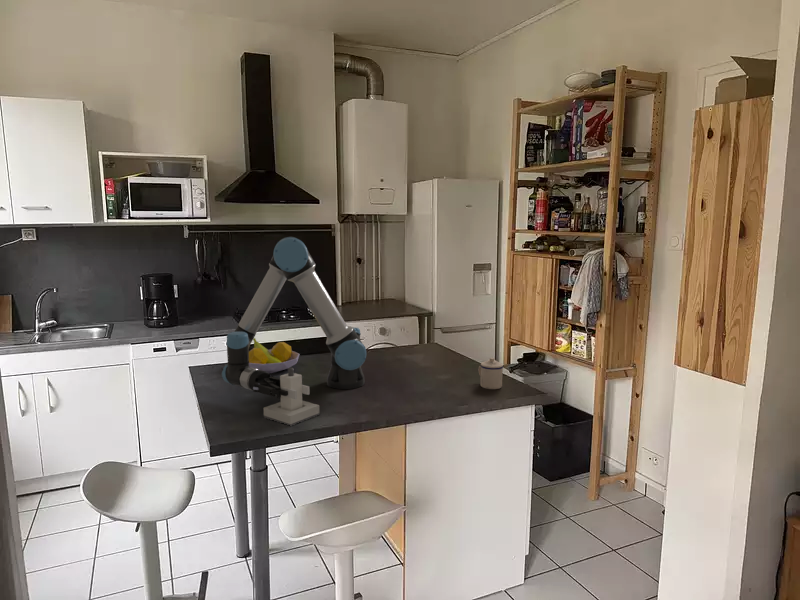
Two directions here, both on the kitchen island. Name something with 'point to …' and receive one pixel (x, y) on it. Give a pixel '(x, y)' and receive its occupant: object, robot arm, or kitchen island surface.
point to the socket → (291, 413)
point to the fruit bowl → (272, 357)
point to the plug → (293, 383)
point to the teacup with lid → (491, 374)
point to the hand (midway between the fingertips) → (302, 392)
